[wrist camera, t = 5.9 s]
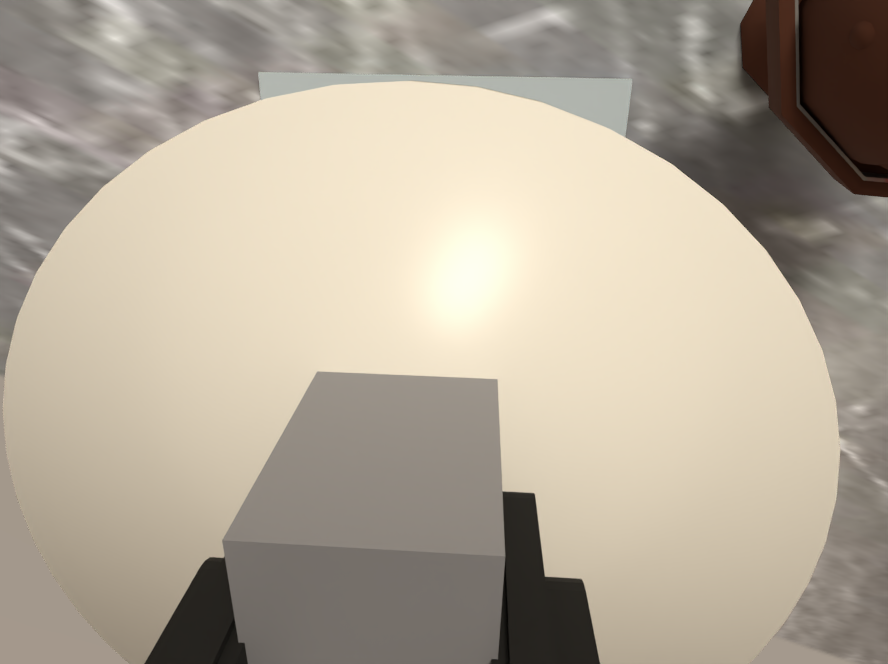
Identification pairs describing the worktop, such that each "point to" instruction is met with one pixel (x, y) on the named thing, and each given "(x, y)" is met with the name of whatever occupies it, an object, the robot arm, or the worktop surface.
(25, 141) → the worktop surface
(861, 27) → the ice cream bowl
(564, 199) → the lid
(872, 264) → the worktop surface
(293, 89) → the mat
